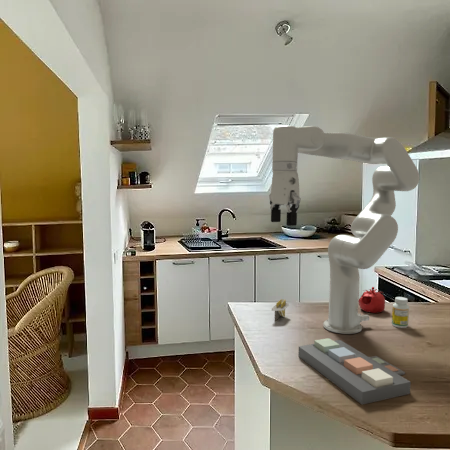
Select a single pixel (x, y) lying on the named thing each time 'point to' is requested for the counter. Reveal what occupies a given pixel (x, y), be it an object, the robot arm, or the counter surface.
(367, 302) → the pomegranate
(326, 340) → the sage key
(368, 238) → the robot arm
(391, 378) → the cream key
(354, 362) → the terracotta key
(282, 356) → the counter surface
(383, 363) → the card
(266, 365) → the counter surface
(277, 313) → the platform
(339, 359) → the blue key
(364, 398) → the keyguard frame
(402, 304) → the supplement bottle
